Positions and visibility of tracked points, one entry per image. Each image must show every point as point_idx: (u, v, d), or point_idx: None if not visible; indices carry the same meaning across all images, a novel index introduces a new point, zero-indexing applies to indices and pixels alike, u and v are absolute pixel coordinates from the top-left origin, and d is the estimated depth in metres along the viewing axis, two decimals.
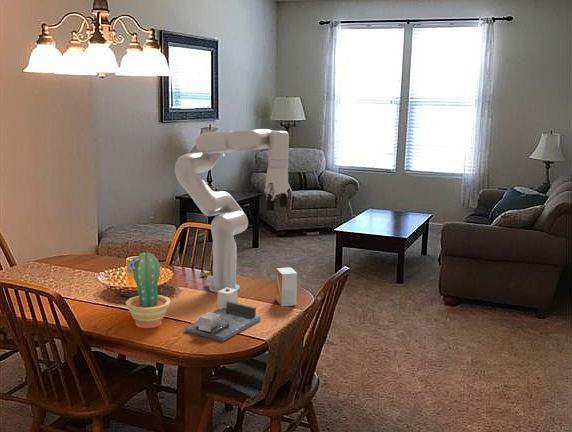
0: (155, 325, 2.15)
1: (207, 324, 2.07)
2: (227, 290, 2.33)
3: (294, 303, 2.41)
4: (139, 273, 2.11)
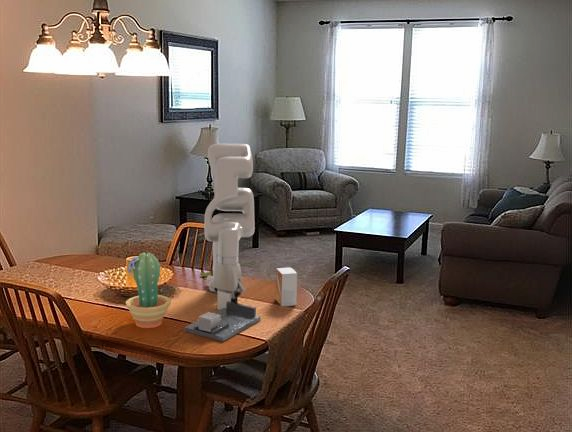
0: (155, 325, 2.15)
1: (207, 324, 2.07)
2: None
3: (294, 303, 2.41)
4: (139, 273, 2.11)
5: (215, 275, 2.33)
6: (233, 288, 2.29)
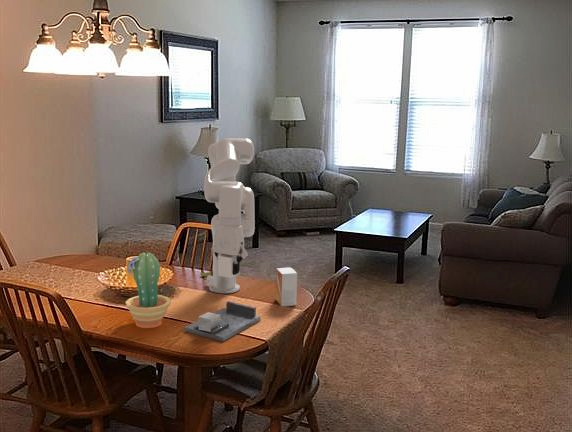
0: (155, 325, 2.15)
1: (207, 324, 2.07)
2: None
3: (294, 303, 2.41)
4: (139, 273, 2.11)
5: (215, 238, 2.14)
6: (235, 252, 2.11)
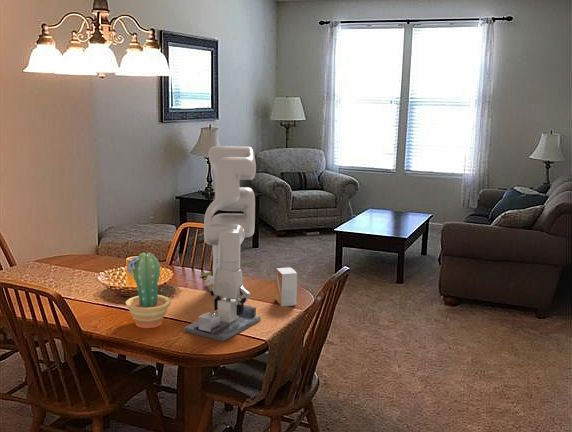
0: (155, 325, 2.15)
1: (207, 324, 2.07)
2: (228, 300, 2.18)
3: (294, 303, 2.41)
4: (139, 273, 2.11)
5: (215, 281, 2.17)
6: (234, 295, 2.14)
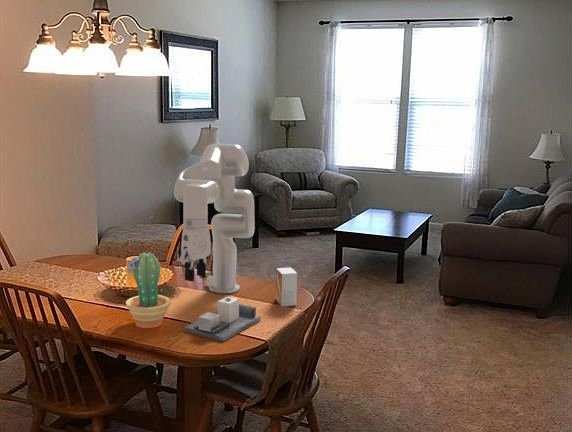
0: (155, 325, 2.15)
1: (207, 324, 2.07)
2: (228, 300, 2.18)
3: (294, 303, 2.41)
4: (139, 273, 2.11)
5: (194, 245, 1.93)
6: (210, 251, 2.01)
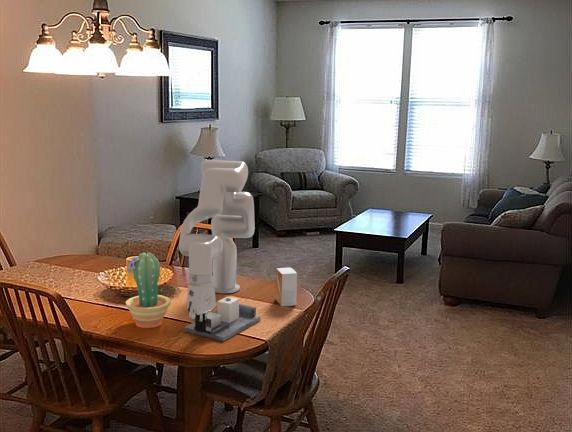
0: (155, 325, 2.15)
1: (207, 324, 2.08)
2: (228, 300, 2.18)
3: (294, 303, 2.41)
4: (139, 273, 2.11)
5: (199, 300, 1.99)
6: (214, 304, 2.07)
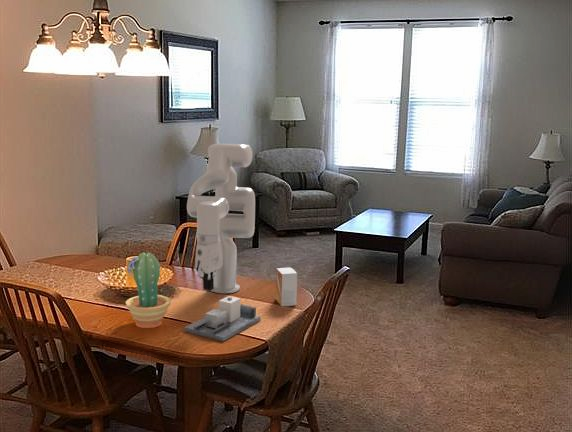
0: (155, 325, 2.15)
1: (213, 321, 2.11)
2: (229, 299, 2.19)
3: (294, 303, 2.41)
4: (139, 273, 2.11)
5: (207, 259, 2.08)
6: (222, 263, 2.15)
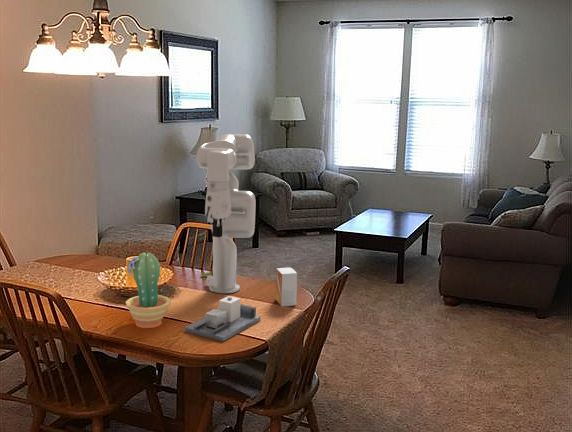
0: (155, 325, 2.15)
1: (213, 321, 2.11)
2: (229, 299, 2.19)
3: (294, 303, 2.41)
4: (139, 273, 2.11)
5: (217, 205, 2.17)
6: (230, 211, 2.25)
